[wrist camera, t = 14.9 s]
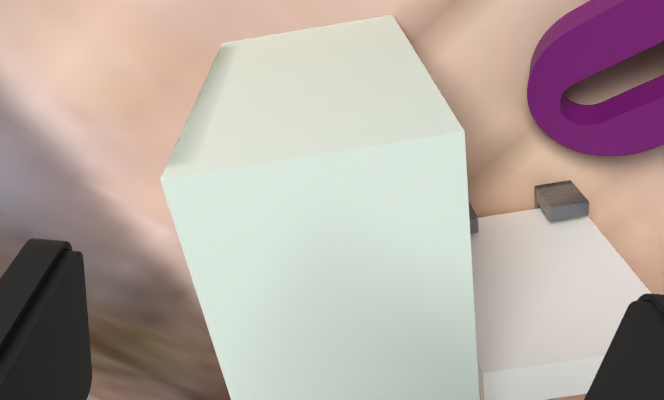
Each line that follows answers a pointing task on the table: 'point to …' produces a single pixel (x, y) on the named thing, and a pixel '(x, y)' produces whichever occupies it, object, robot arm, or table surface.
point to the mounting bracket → (588, 59)
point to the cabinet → (328, 219)
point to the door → (545, 304)
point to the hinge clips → (551, 203)
